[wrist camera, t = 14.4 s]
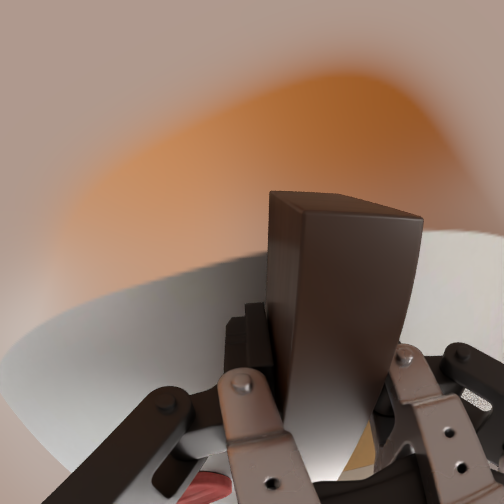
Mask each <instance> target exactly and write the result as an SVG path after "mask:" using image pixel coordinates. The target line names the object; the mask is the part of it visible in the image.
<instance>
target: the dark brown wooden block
mask: <svg viewBox="0 0 504 504" xmlns="http://www.w3.org/2000/svg"><path fill="white" fill-rule="evenodd" d="M423 222H424V221H423V218H422V217H420V216H417V215H414V214H411V213H407V212H404V211H400V210H397V209H394V208H390V207H387V206H383V205H379V204H376V203H372V202H369V201H364V200H361V199H357V198H353V197H349V196H345V195H341V194H332V193H315V192H293V191H270V194H269V227H268V256H267V282H266V306H265V313H266V319H267V325H268V331H269V337H270V343H271V350H272V356H273V362H274V381H275V404H276V407H277V410H278V412H279V415H280V418H281V420H282V423H283V426H284V428H285V430H286V431H290V432H291V434H292V435H293V437H294V440H295V442H296V445H297V447H298V449H299V452H300V454H301V457H302V459H303V462H304V464H305V467H306V469H307V471H308V474H309V476H310V479H311V481H312V483H313V482H318V481H337V480H338V478H339V477H340V475H341V473H342V472H343V470H344V468H345V466H346V465H347V463H348V461H349V459H350V457H351V455H352V454H353V452H354V450H355V448H356V446H357V444H358V442H359V440H360V438H361V436H362V434H363V432H364V430H365V428H366V425H367V423H368V421H369V419H370V417H371V414H372V412H373V410H374V407H375V405H376V403H377V400H378V398H379V395H380V393H381V390H382V388H383V385H384V383H385V380H386V377H387V375H388V372H389V369H390V366H391V363H392V360H393V357H394V354H395V351H396V348H397V345H398V342H399V338H400V335H401V332H402V328H403V325H404V321H405V317H406V313H407V309H408V305H409V301H410V297H411V293H412V288H413V284H414V279H415V274H416V269H417V263H418V257H419V251H420V245H421V238H422V231H423Z"/></svg>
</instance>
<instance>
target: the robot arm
mask: <svg viewBox="0 0 504 504" xmlns="http://www.w3.org/2000/svg"><path fill="white" fill-rule="evenodd" d="M465 388H467V389H468V390H470V391H471V392H473V393H475V394H476V395H478V396H480V397H481V398H483V399H485V400H486V401H488V402H489V403H491V405H492V407H493V408H492V409H491V410H489V411H482V410H480V409H479V408H477V407H476V406H474V405H472V404H471V403H469V402H468V401H466V400H464V399H463V398H461V395H462V393H463V391H464V390H465ZM369 422H370V427H371V432H372V437H373V442H374V447H375V461H374V467H373V473H374V474H373V475H372V476H370V477H368V478H366V479H363V480H348V481H318V482H313V483H312V481H311V479H310V476H309V474H308V471H307V469H306V467H305V464H304V462H303V459H302V457H301V454H300V452H299V449H298V447H297V445H296V442H295V440H294V437H293V435H292V434H291V432H290V431H286V430H285V428H284V426H283V423H282V420H281V418H280V415H279V412H278V410H277V407H276V404H275V381H274V362H273V356H272V350H271V343H270V337H269V331H268V325H267V319H266V313H265V307H264V302H258V303H246V304H245V316H244V317H232V318H231V319H230V321H229V322H228V324H227V325H226V337H225V354H224V373H223V375H222V376H221V377H220V379H219V381H218V384H217V385H215V386H214V387H213V388H211V389H209V390H207V391H204V392H200V393H196V394H192V395H189V394H188V393H187V392H186V391H185V390H183V389H181V388H179V387H174V386H165V387H161V388H158V389H155V390H153V391H152V392H150V393H149V394H148V395H147V396H146V397H145V398H144V399H143V401H142V402H141V403H140V404H139V405H138V406H137V407H136V408H135V409H134V410H133V411H132V412H131V413H130V414H129V415H128V416H127V417H126V418H125V419H124V421H123V422H122V423H121V424H120V425H119V426H118V427H117V428H116V429H115V430H114V431H113V432H112V433H111V434H110V435H109V436H108V437H107V438H106V439H105V440H104V441H103V442H102V443H101V444H100V445H99V446H98V447H97V448H96V450H95V451H94V452H93V453H92V454H91V455H90V456H89V457H88V458H87V459H86V460H85V461H84V462H83V463H82V464H81V465H80V466H79V467H78V468H77V469H76V470H75V471H74V472H73V473H72V474H71V475H70V476H69V477H68V478H67V479H66V480H65V481H64V482H63V483H62V484H61V485H60V486H59V487H58V488H57V489H56V490H55V491H54V492H53V493H52V494H51V495H50V496H48V497H47V498H46V500H44V501H43V502H42V503H41V504H176V503H177V502H178V500H179V499H180V498H181V496H182V495H183V493H184V492H185V491H186V489H187V488H188V486H189V485H190V483H191V482H192V481H193V479H194V478H195V476H196V475H197V473H198V472H199V470H200V469H201V467H202V466H203V464H204V463H205V461H206V460H207V458H208V456H210V455H214V454H218V453H221V452H224V451H227V453H228V458H229V463H230V468H231V473H232V478H233V482H234V487H235V491H236V496H237V500H238V504H504V364H503V363H501V362H499V361H497V360H496V359H494V358H492V357H490V356H488V355H486V354H485V353H483V352H481V351H479V350H477V349H475V348H474V347H472V346H470V345H468V344H465V343H459V342H457V343H452V344H450V345H448V346H447V347H446V349H445V352H444V354H443V356H424V355H423V354H422V352H421V351H420V350H419V349H418V348H416V347H414V346H412V345H409V344H401V342H400V341H399V342H398V345H397V348H396V351H395V354H394V357H393V360H392V363H391V366H390V369H389V372H388V375H387V377H386V380H385V383H384V385H383V388H382V390H381V393H380V395H379V398H378V400H377V403H376V405H375V407H374V410H373V412H372V414H371V417H370V419H369ZM487 460H488V461H490V462H491V463H493V464H494V465H496V466H497V467H499V468H498V469H497V470H493V469H490V467H489V464H488V461H487Z"/></svg>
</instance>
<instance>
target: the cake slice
mask: <svg viewBox="0 0 504 504" xmlns="http://www.w3.org/2000/svg"><path fill="white" fill-rule="evenodd" d="M374 461H375V447H374V442H373V437H372V432H371V427H370V422H369V421H368V423H367V425H366V428H365V430H364V432H363V434H362V436H361V438H360V440H359V442H358V444H357V446H356V448H355V450H354V452H353V454H352V455H351V457H350V459H349V461H348V463H347V465H346V466H345V468H344V470H343V472H342V473H341V475H340V477H339V478H338V480H337V481H348V480H363V479H366V478H368V477H370V476H372V475H373V474H374V473H373V467H374Z"/></svg>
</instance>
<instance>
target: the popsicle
mask: <svg viewBox="0 0 504 504" xmlns="http://www.w3.org/2000/svg"><path fill="white" fill-rule="evenodd" d="M231 493H232V481H231V479H230V478H229V477H227V476H225V475H221V474H218V473H212V472H198V473H197V475H196V476H195V478H194V479H193V481H192V482H191V483H190V485H189V486H188V488H187V489H186V491H185V492H184V493H183V495H182V496H181V498H180V499H179V500H178V502H177V503H176V504H209V503H212V502H214V501H217V500H219V499H222V498H224V497H226V496H228V495H230V494H231Z"/></svg>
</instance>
